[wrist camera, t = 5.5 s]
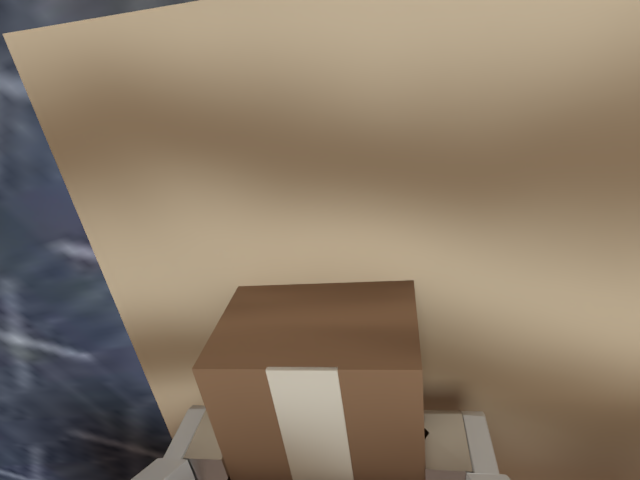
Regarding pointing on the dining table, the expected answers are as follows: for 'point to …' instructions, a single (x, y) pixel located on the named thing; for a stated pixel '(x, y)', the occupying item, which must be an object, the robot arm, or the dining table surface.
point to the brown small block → (317, 382)
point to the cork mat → (374, 190)
